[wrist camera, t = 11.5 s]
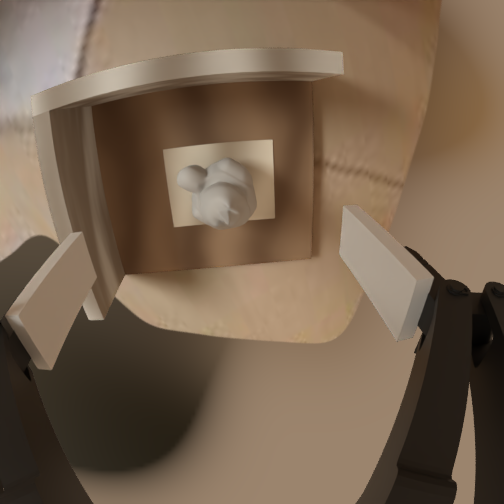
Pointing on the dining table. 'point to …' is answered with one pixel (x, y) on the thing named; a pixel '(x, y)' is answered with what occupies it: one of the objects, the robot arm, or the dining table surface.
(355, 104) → the dining table surface
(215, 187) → the white lumpy figure
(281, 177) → the arena
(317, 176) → the dining table surface
